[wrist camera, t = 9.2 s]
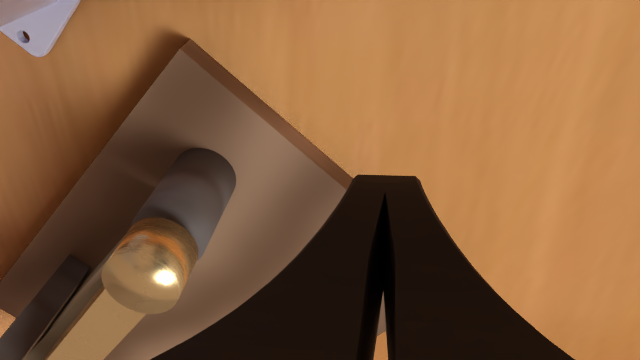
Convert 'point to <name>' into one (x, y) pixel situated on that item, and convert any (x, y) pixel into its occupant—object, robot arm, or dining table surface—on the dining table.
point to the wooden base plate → (178, 210)
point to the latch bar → (131, 288)
